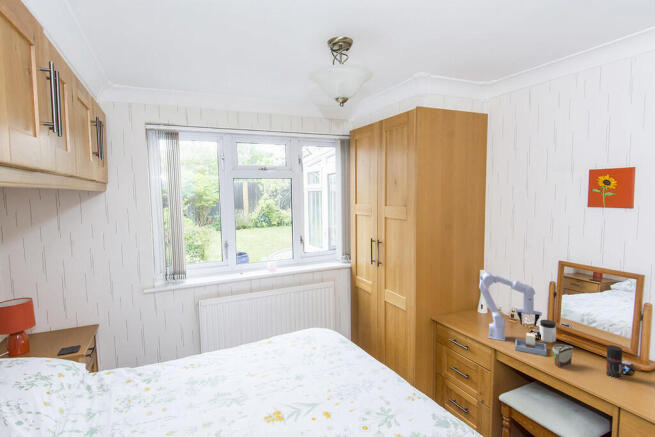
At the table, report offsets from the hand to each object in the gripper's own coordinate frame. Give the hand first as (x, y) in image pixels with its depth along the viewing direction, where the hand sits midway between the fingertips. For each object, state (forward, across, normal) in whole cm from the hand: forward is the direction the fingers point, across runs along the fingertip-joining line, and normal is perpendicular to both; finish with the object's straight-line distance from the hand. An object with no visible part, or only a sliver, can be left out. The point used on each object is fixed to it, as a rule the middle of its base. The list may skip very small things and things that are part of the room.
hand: (528, 324), depth 216 cm
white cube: (+6, +1, -14) cm, 15 cm away
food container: (+11, +15, -26) cm, 32 cm away
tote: (+10, +1, -14) cm, 17 cm away
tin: (+10, +1, -14) cm, 17 cm away
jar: (+11, +11, +6) cm, 16 cm away
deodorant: (+11, +38, -28) cm, 48 cm away
